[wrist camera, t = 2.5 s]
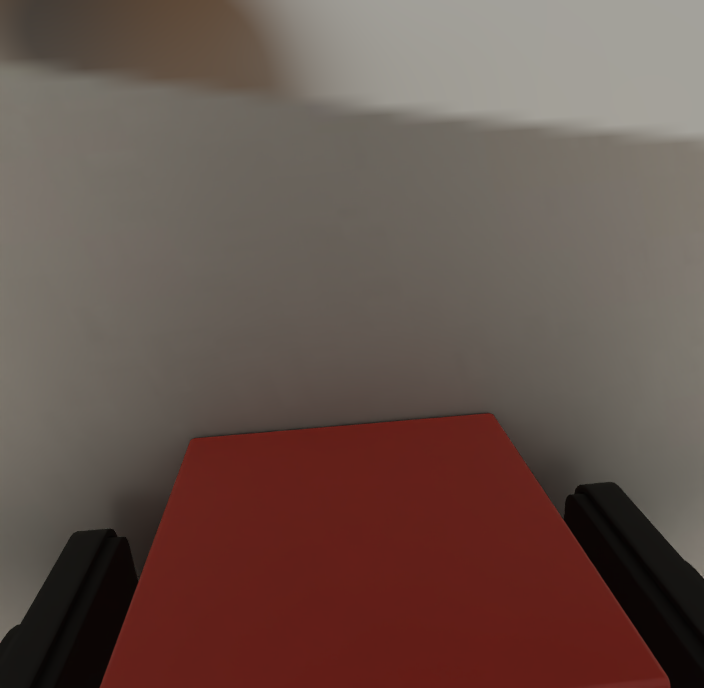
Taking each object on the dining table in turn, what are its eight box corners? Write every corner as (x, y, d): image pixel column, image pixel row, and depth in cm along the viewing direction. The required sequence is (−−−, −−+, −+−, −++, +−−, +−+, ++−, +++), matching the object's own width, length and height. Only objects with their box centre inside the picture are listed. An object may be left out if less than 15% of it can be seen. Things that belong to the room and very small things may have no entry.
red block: (189, 436, 9) (72, 751, 5) (493, 410, 9) (675, 681, 5) (229, 664, 11) (175, 1058, 6) (484, 637, 11) (611, 994, 7)
